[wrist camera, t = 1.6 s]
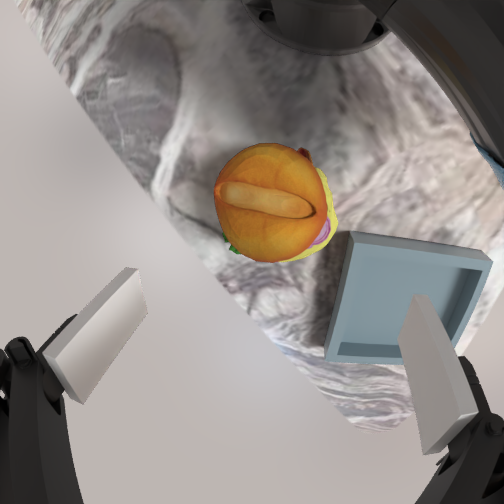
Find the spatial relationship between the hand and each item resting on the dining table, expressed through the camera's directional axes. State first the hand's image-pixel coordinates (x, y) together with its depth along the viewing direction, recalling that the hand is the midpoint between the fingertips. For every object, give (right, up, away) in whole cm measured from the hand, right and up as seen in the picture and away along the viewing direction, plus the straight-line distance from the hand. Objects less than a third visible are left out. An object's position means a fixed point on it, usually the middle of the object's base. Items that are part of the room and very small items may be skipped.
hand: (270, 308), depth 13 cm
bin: (+17, -3, +17) cm, 24 cm away
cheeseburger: (+2, +8, +15) cm, 17 cm away
